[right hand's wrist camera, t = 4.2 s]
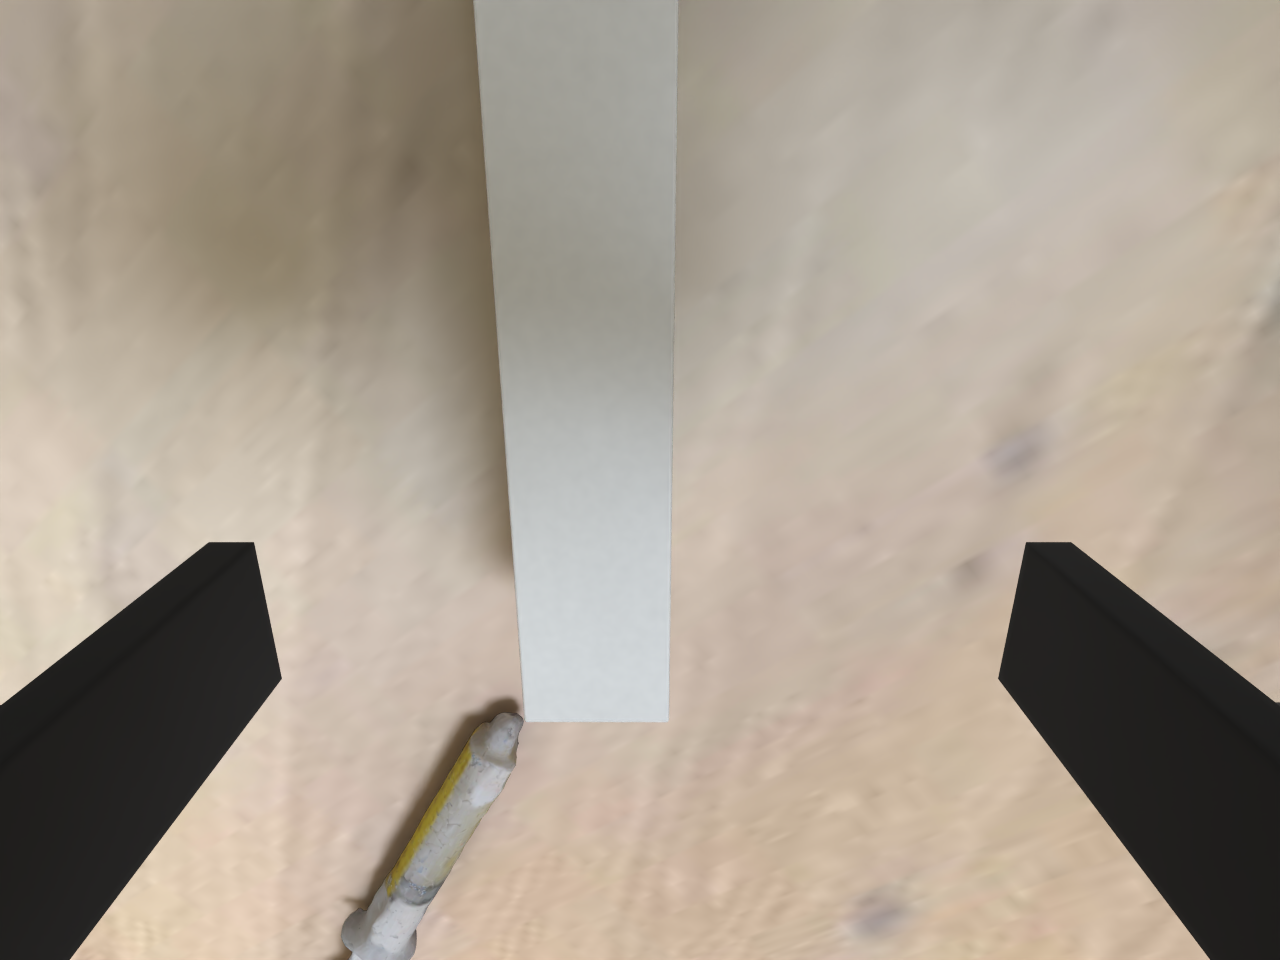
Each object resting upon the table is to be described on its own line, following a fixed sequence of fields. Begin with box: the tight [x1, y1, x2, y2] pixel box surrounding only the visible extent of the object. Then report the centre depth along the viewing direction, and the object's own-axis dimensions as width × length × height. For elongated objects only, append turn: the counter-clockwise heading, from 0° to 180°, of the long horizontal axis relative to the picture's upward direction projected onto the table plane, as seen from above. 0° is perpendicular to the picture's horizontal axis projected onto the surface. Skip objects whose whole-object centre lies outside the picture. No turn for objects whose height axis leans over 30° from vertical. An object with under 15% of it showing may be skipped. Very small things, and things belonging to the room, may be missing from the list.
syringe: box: [341, 713, 524, 960], centre depth 35 cm, size 25×4×3 cm, turn 149°
